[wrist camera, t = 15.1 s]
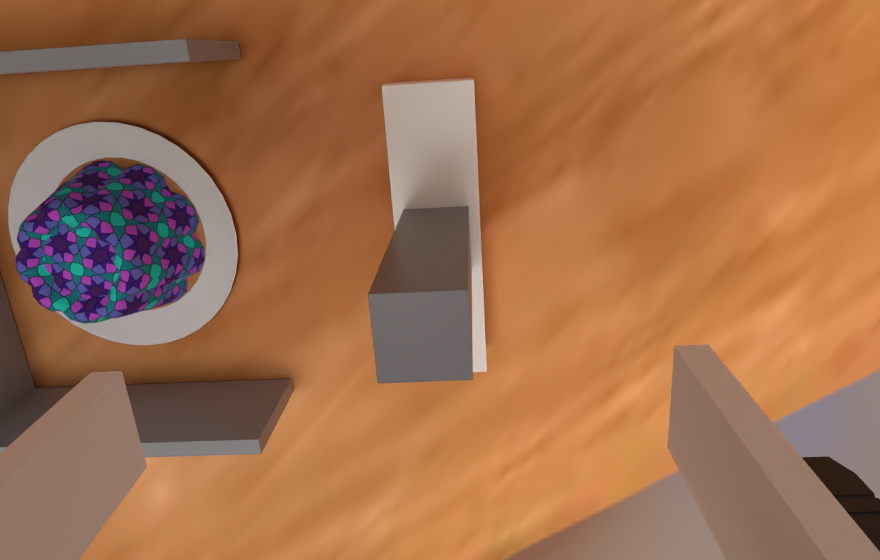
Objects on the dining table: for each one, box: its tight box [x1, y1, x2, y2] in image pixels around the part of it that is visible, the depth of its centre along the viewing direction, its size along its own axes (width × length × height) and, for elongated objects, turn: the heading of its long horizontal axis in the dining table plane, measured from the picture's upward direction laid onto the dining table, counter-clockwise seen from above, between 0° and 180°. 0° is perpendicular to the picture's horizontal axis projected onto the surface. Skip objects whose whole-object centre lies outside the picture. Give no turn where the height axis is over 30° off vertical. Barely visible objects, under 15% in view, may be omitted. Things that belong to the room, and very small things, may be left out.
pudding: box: [8, 122, 238, 345], centre depth 32 cm, size 12×12×5 cm
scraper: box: [368, 77, 487, 383], centre depth 26 cm, size 14×4×14 cm, turn 4°
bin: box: [0, 39, 293, 457], centre depth 31 cm, size 19×16×6 cm
